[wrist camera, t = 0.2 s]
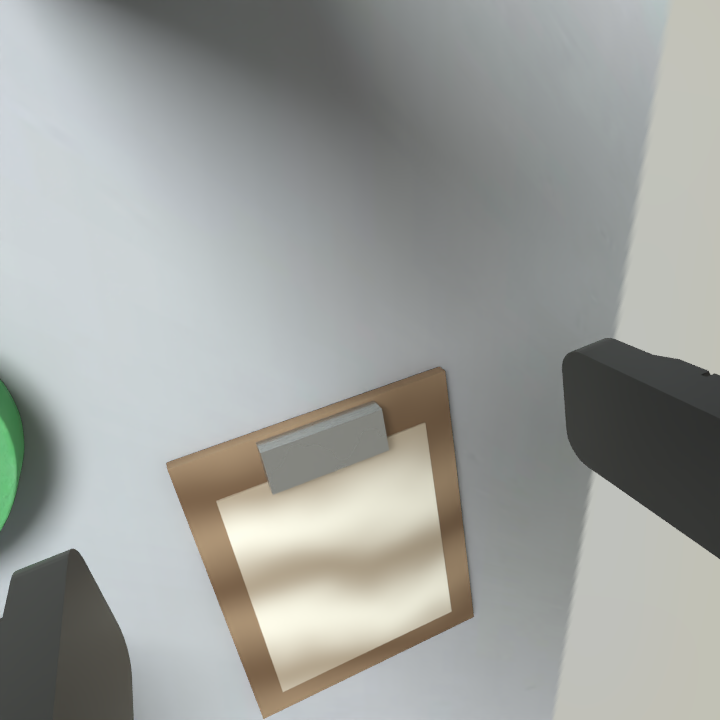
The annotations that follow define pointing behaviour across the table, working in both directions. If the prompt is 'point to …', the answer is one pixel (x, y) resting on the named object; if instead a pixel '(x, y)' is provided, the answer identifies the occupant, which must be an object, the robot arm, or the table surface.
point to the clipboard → (333, 536)
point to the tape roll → (9, 452)
